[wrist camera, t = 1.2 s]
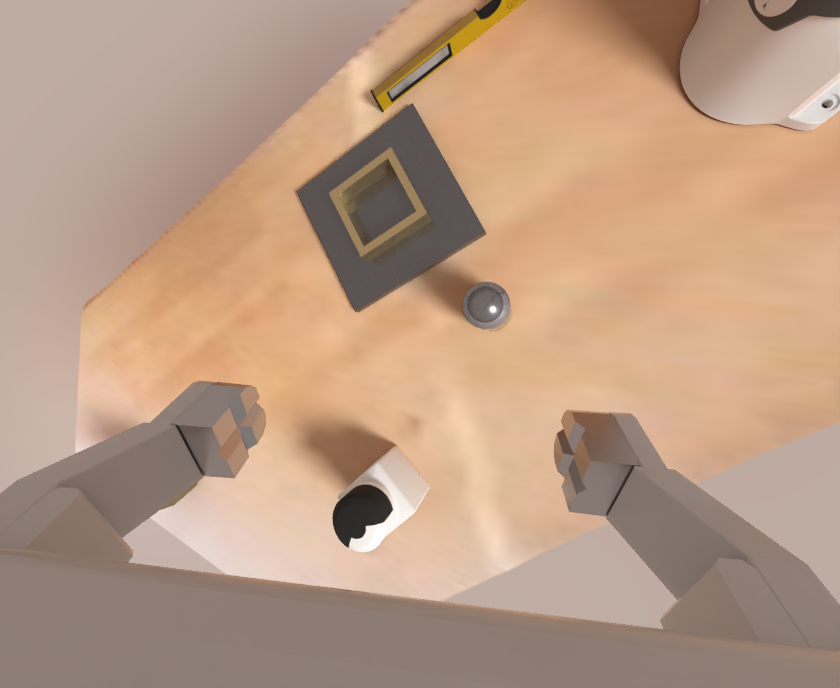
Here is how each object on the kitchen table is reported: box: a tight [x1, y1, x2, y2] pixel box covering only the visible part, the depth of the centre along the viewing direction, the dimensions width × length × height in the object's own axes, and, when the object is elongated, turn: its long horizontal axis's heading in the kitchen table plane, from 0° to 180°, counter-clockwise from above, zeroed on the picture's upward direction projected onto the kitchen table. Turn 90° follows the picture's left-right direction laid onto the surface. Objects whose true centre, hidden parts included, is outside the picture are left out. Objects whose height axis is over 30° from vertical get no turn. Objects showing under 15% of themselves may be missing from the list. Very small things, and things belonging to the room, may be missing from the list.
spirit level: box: [371, 0, 526, 112], centre depth 41 cm, size 33×1×3 cm, turn 118°
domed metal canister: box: [463, 282, 511, 331], centre depth 38 cm, size 5×5×9 cm
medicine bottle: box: [333, 446, 430, 552], centre depth 40 cm, size 7×7×12 cm
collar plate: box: [297, 103, 486, 312], centre depth 45 cm, size 20×20×4 cm
